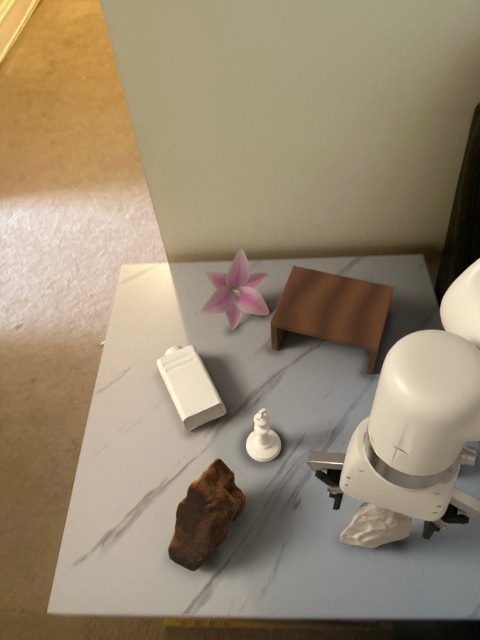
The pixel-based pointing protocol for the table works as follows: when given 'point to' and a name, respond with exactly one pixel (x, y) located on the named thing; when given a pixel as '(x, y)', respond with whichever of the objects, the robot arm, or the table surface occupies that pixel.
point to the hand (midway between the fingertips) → (382, 511)
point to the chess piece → (263, 439)
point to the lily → (236, 291)
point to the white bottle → (190, 386)
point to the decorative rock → (205, 516)
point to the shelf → (333, 310)
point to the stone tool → (376, 527)
